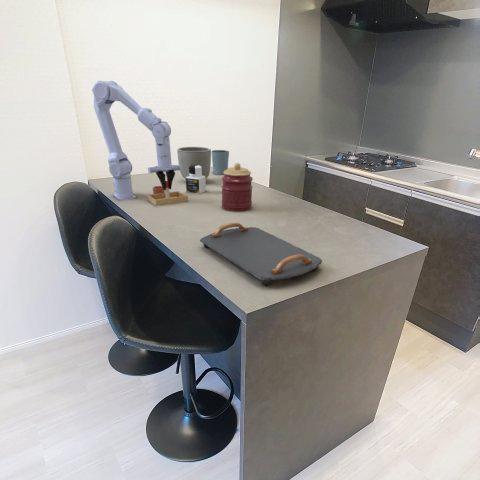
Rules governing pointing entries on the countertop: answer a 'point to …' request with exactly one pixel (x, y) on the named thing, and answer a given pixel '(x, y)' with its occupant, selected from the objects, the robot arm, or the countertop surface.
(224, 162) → the blue tapered pot
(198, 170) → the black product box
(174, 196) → the tray
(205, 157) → the planter
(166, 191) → the marker
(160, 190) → the cup
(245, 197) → the kitchen canister
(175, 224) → the countertop surface
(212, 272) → the countertop surface
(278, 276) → the serving tray
